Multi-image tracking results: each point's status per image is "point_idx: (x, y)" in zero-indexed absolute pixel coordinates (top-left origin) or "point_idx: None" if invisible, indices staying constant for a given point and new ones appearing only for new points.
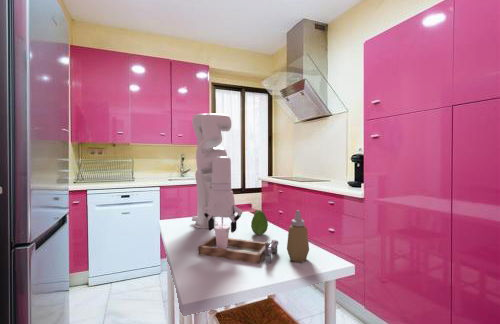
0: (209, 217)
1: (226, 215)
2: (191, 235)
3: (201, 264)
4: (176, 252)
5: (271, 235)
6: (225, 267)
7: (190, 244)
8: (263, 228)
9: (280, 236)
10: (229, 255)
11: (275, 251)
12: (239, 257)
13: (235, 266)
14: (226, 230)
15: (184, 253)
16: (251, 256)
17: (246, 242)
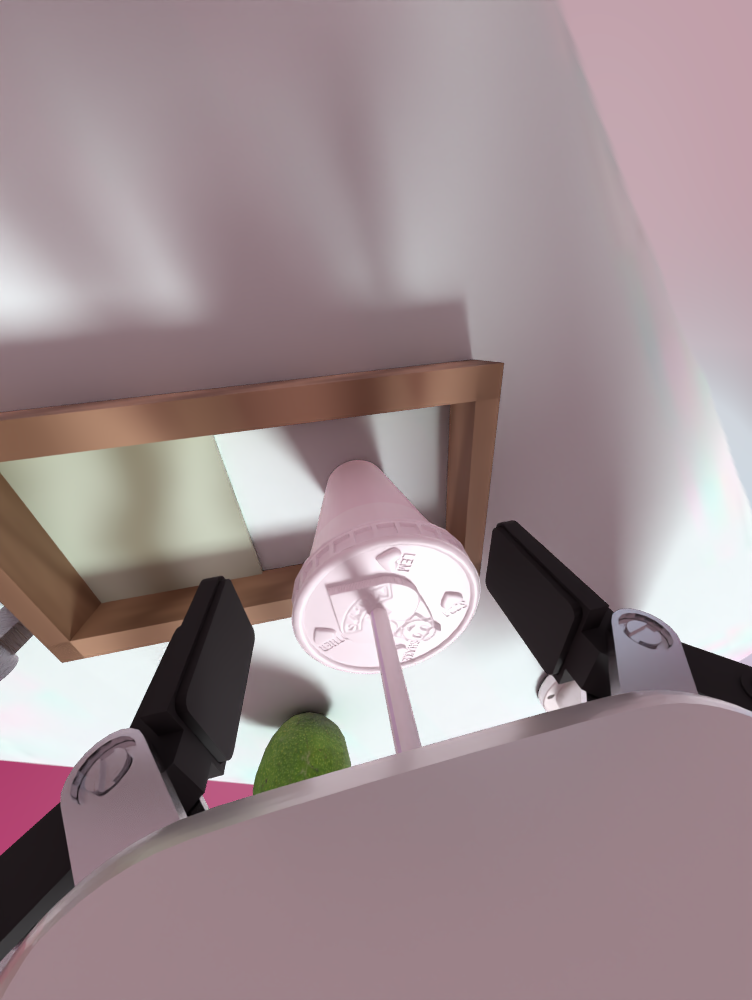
0: (646, 661)
1: (137, 932)
2: (618, 569)
3: (342, 165)
4: (632, 315)
5: (249, 736)
6: (102, 202)
7: (584, 473)
8: (262, 765)
9: None
10: (202, 392)
11: (2, 612)
12: (107, 402)
13: (47, 272)
14: (298, 580)
15: (571, 326)
16: None
17: None
